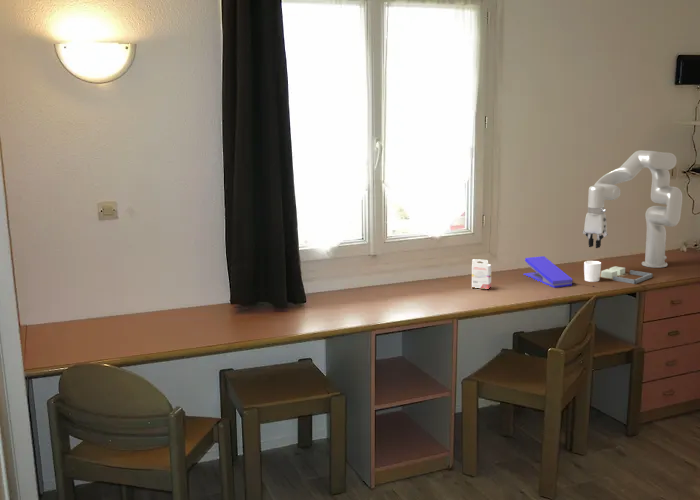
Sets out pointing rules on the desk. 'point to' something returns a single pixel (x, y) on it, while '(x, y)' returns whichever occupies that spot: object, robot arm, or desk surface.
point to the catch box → (645, 277)
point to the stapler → (547, 272)
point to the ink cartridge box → (481, 274)
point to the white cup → (592, 271)
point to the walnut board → (617, 275)
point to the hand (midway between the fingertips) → (594, 246)
